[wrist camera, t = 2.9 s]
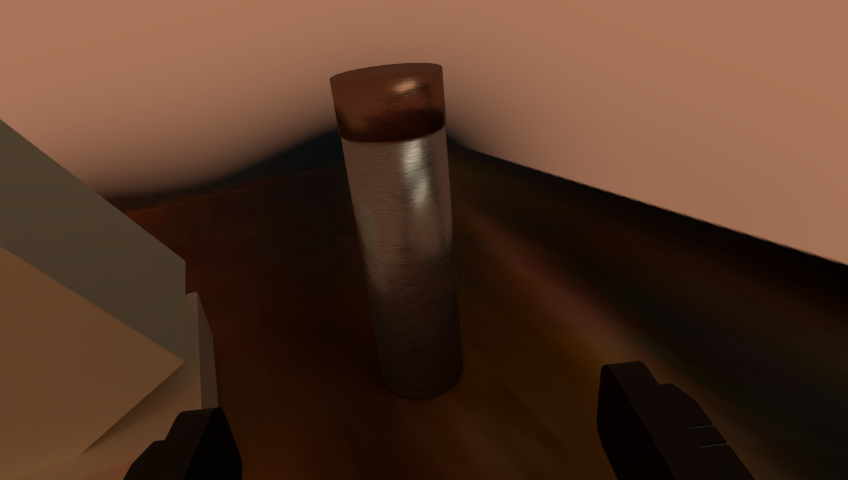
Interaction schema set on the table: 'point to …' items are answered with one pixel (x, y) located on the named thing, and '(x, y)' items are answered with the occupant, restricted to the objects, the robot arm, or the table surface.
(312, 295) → the table surface
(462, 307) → the table surface
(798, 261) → the table surface
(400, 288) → the peg
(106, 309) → the socket
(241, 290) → the table surface
